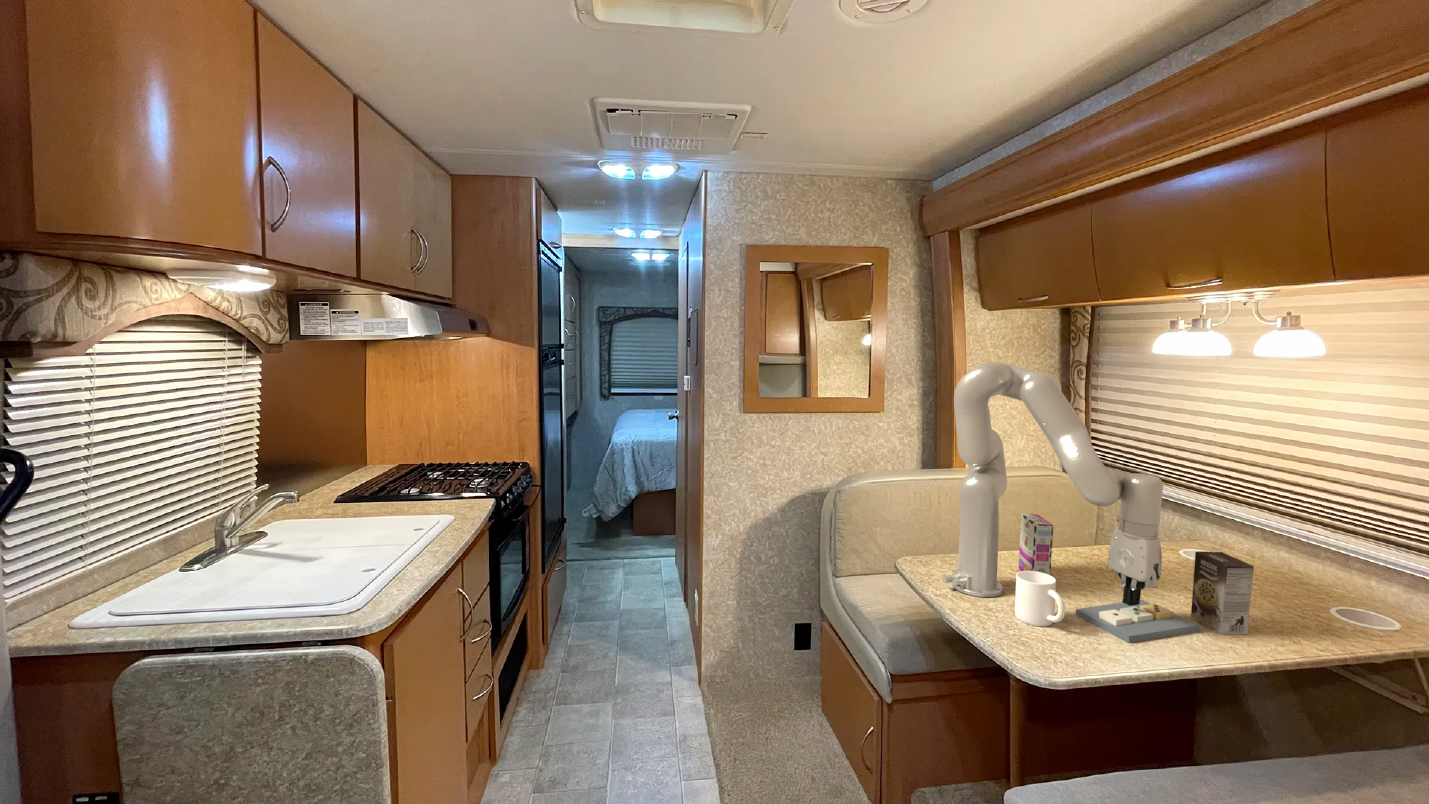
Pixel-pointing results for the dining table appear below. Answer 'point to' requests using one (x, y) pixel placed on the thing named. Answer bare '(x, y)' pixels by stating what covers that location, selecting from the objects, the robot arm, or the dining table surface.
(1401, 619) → the dining table surface
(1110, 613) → the tile
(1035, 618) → the mug
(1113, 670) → the dining table surface
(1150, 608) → the tile
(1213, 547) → the dining table surface
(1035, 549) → the candy bar box
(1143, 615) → the tile
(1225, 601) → the coffee box
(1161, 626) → the board
